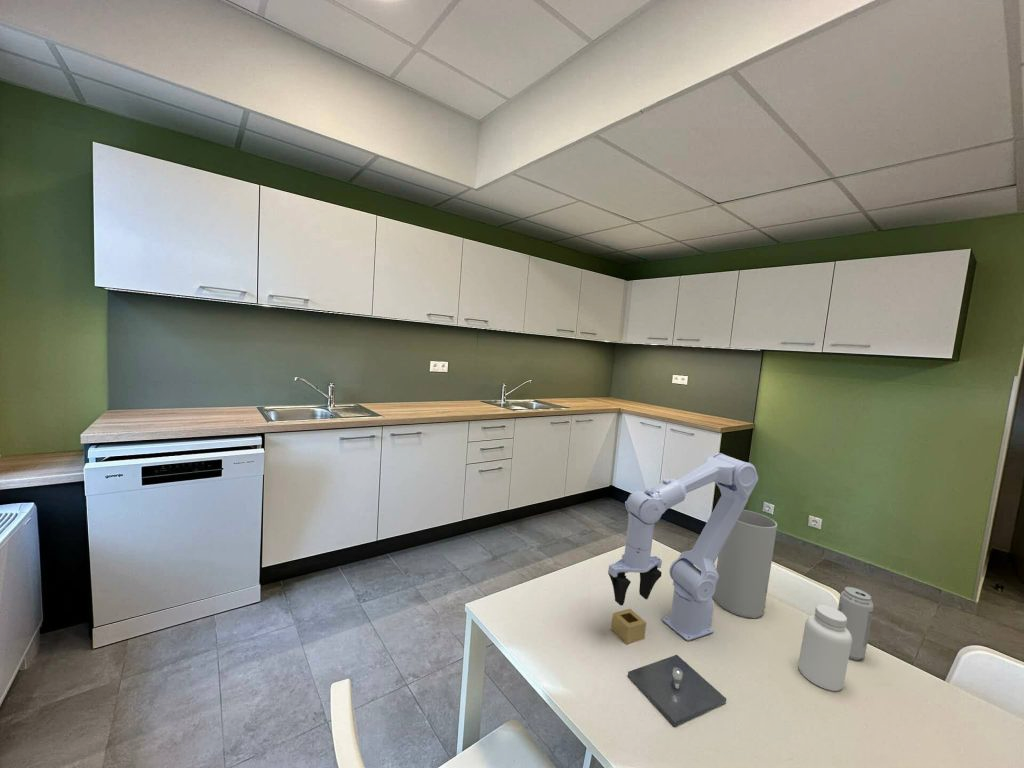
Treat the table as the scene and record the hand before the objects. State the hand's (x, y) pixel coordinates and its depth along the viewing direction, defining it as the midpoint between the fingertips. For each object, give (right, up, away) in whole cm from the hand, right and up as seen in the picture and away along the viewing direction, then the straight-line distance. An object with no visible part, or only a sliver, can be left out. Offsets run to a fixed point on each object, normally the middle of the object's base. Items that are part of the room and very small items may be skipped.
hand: (631, 599), depth 95 cm
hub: (-1, -8, +1) cm, 9 cm away
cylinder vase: (+35, -11, +17) cm, 40 cm away
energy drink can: (+52, -14, +2) cm, 54 cm away
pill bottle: (+39, -13, -7) cm, 42 cm away
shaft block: (+4, -10, -15) cm, 18 cm away
